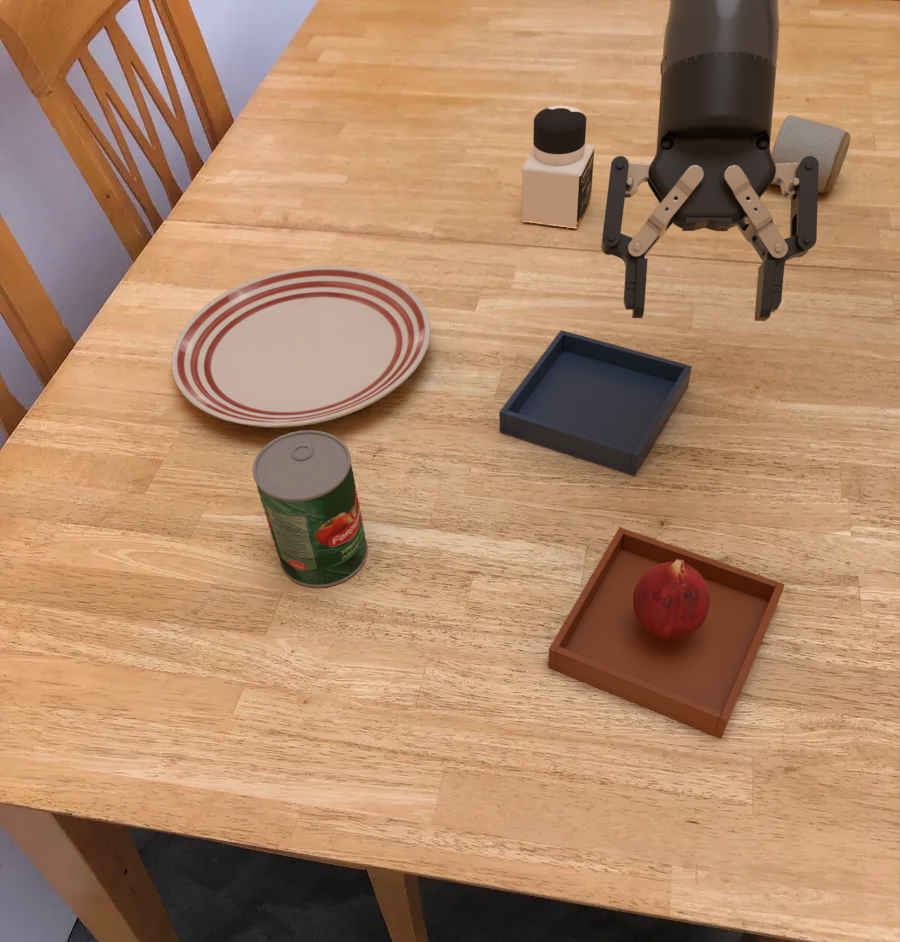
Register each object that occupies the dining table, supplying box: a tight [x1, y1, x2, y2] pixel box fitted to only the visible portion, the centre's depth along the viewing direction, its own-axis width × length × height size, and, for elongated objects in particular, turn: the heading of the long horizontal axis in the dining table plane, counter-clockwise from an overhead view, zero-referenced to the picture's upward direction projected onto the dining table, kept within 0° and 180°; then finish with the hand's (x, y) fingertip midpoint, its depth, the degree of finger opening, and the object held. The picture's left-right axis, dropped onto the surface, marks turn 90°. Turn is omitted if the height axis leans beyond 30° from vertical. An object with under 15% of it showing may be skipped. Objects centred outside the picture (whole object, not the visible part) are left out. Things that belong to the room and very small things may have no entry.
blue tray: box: [498, 329, 693, 477], centre depth 91 cm, size 14×14×3 cm
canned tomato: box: [252, 429, 369, 589], centre depth 78 cm, size 8×8×11 cm
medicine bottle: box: [521, 105, 595, 228], centre depth 110 cm, size 7×7×12 cm
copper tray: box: [547, 526, 785, 739], centre depth 74 cm, size 14×14×3 cm
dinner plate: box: [170, 265, 432, 429], centre depth 98 cm, size 28×27×3 cm
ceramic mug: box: [770, 114, 851, 193], centre depth 113 cm, size 11×8×8 cm
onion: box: [633, 559, 710, 640], centre depth 71 cm, size 6×6×8 cm
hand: (699, 317), depth 65 cm, fingers open, 8 cm apart
